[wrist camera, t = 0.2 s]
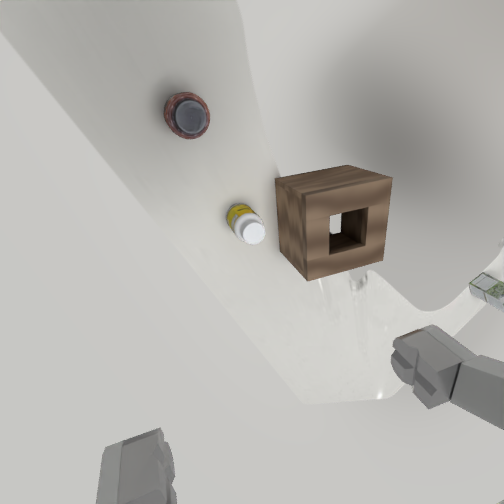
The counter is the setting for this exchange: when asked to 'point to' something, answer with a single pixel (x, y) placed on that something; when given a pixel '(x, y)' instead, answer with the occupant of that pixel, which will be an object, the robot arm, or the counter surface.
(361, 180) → the box
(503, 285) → the syrup box
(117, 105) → the counter surface
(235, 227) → the supplement bottle
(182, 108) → the supplement bottle
